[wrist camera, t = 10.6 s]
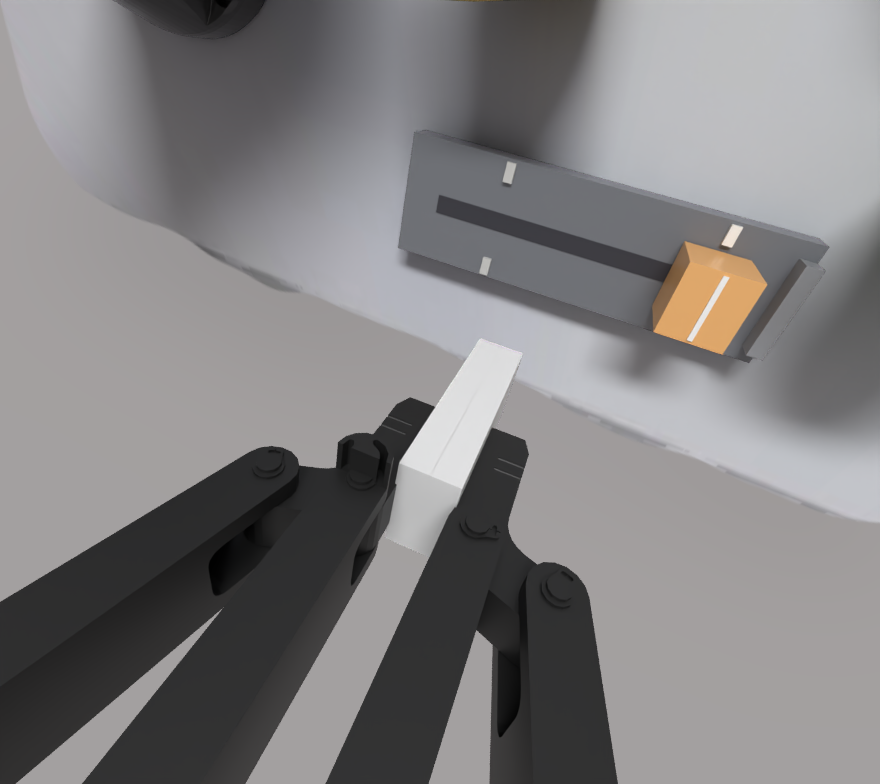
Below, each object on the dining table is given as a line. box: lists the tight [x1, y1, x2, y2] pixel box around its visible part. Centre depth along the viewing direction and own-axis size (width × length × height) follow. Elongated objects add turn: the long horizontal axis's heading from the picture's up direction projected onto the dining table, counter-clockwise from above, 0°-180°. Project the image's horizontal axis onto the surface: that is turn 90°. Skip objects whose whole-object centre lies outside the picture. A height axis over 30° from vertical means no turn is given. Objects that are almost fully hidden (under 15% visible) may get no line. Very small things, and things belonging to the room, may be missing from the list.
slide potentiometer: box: [398, 130, 829, 363], centre depth 32 cm, size 26×8×4 cm, turn 79°
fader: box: [652, 241, 767, 354], centre depth 28 cm, size 4×4×5 cm
